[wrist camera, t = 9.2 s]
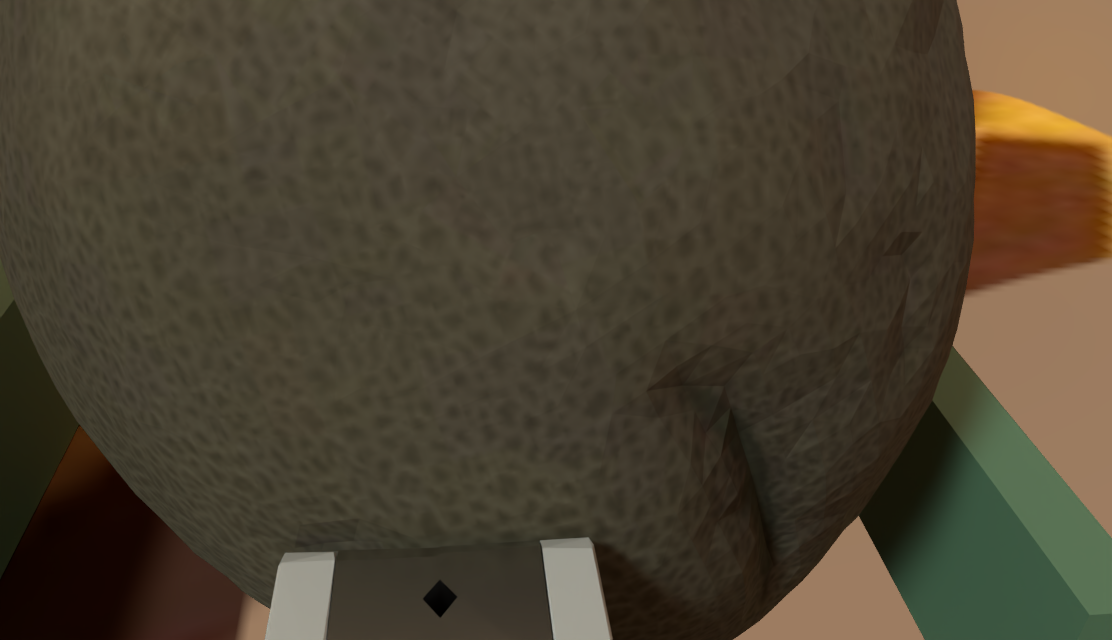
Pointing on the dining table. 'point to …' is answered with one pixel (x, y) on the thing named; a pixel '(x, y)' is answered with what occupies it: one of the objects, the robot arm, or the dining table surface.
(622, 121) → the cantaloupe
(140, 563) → the dining table surface
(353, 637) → the robot arm
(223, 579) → the dining table surface
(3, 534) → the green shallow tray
